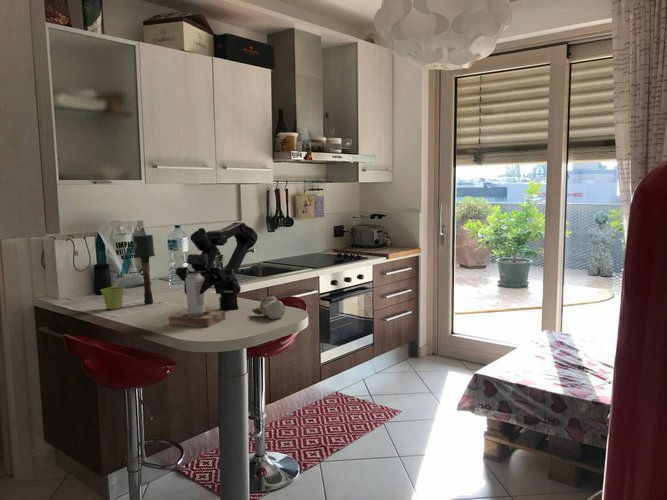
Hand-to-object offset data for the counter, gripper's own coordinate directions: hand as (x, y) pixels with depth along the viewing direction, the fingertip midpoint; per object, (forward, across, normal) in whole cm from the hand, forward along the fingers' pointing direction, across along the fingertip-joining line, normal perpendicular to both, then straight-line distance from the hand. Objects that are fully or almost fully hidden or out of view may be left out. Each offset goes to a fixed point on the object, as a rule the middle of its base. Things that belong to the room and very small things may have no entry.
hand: (193, 293), depth 192 cm
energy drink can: (+5, 0, +7) cm, 8 cm away
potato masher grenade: (-12, -42, +28) cm, 52 cm away
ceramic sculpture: (-2, +24, +18) cm, 30 cm away
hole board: (+7, 0, +8) cm, 11 cm away
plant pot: (-4, -52, +20) cm, 56 cm away
